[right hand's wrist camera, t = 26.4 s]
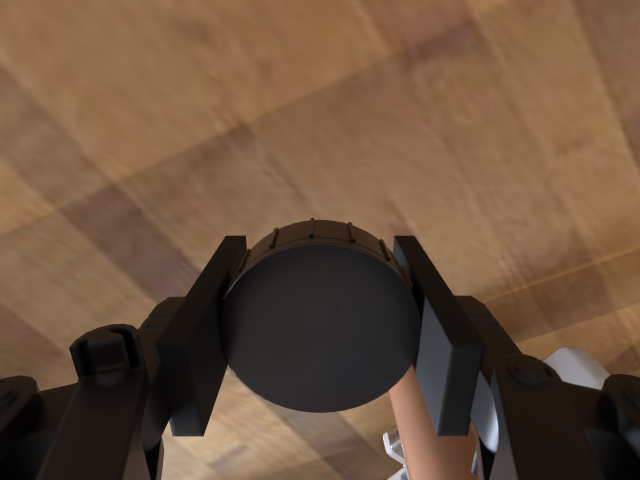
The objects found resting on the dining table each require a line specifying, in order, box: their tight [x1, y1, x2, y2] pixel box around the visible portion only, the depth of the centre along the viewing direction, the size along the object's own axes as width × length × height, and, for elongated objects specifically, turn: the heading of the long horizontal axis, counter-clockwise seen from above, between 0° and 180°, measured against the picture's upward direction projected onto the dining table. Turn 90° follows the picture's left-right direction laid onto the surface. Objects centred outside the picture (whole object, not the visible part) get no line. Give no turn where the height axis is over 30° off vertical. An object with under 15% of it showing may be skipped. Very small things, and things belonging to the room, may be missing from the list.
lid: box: [219, 218, 422, 413], centre depth 11 cm, size 6×6×2 cm
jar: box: [389, 365, 479, 480], centre depth 24 cm, size 5×5×15 cm
